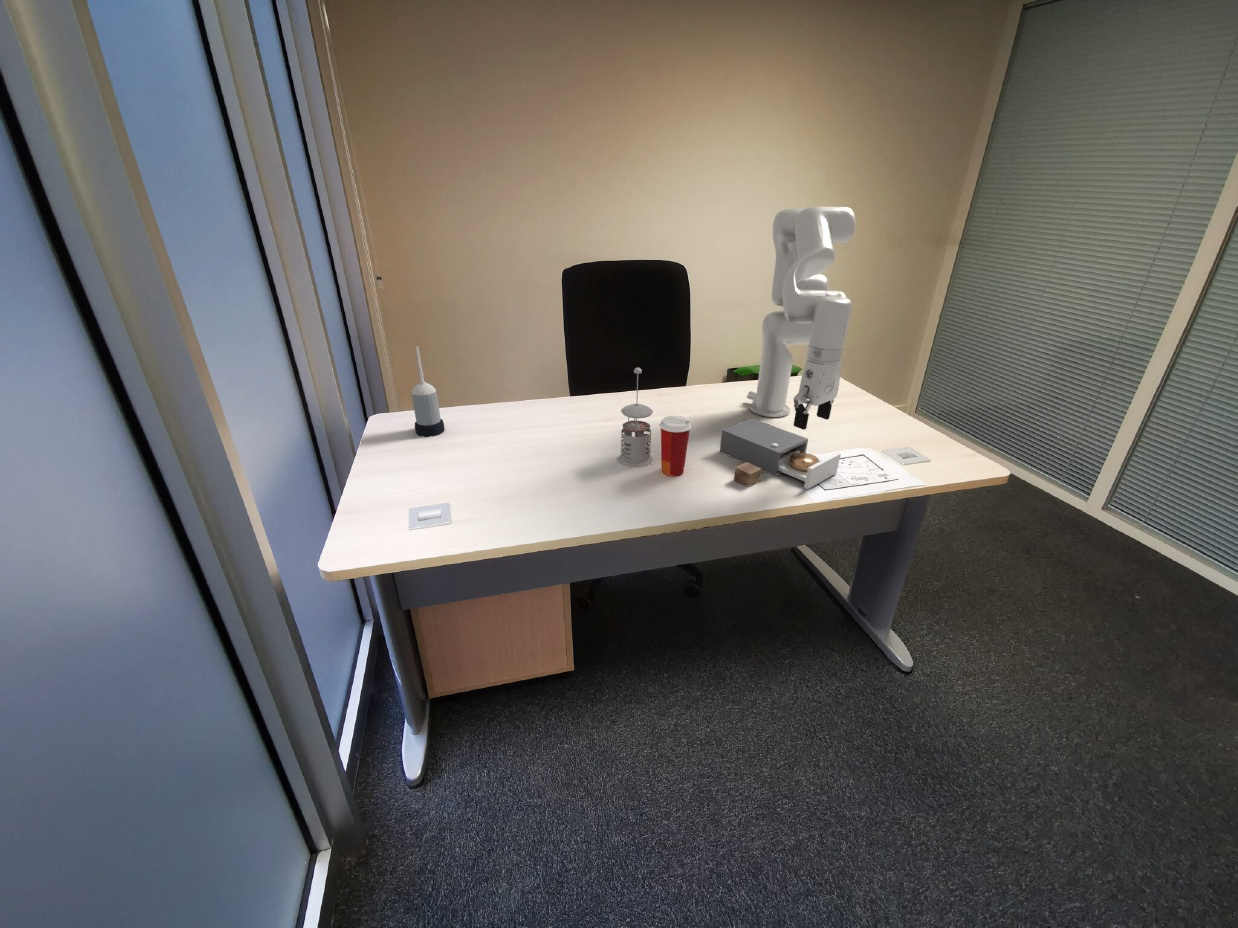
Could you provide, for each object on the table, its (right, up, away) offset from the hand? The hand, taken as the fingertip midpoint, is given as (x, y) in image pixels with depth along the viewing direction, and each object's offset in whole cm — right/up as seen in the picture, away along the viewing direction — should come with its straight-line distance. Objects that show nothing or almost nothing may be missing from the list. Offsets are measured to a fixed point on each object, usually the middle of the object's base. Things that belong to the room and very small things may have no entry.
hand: (811, 422), depth 131 cm
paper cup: (-33, -12, +6) cm, 36 cm away
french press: (-42, -8, +13) cm, 45 cm away
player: (-8, -8, +15) cm, 19 cm away
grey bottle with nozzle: (-102, -1, +28) cm, 106 cm away
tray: (-2, -11, +8) cm, 14 cm away
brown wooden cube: (-15, -14, +3) cm, 21 cm away
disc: (0, -10, +5) cm, 12 cm away
